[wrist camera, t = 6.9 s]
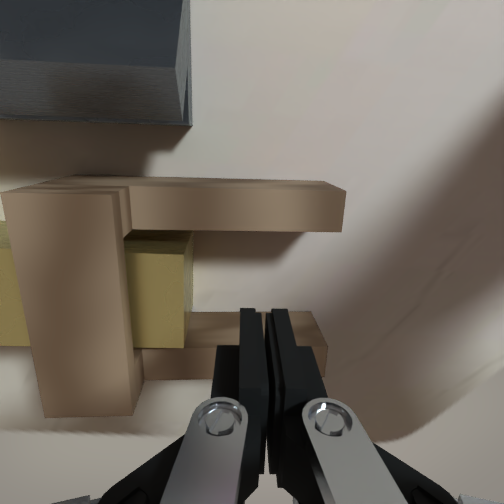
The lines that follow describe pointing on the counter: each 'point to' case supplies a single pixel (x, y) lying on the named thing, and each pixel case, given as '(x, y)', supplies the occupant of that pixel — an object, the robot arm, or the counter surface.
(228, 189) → the wooden bracket
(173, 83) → the v block
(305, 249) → the counter surface
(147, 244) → the bar
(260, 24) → the counter surface
